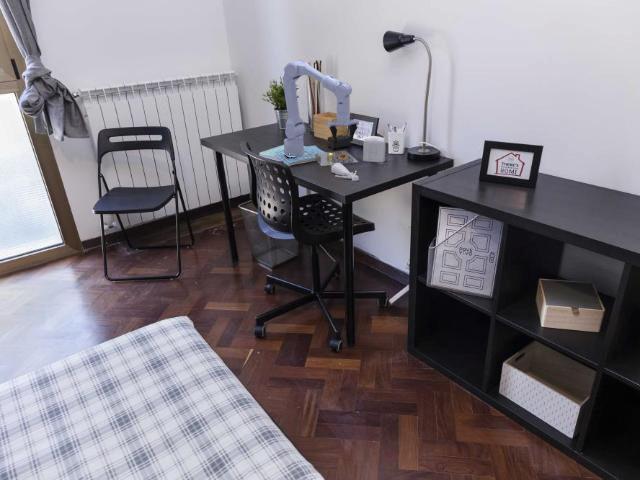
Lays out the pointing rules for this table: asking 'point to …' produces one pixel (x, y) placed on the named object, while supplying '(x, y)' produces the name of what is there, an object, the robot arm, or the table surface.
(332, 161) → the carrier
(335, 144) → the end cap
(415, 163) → the table surface
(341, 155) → the gear
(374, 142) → the photo printer
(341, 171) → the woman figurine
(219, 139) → the table surface
